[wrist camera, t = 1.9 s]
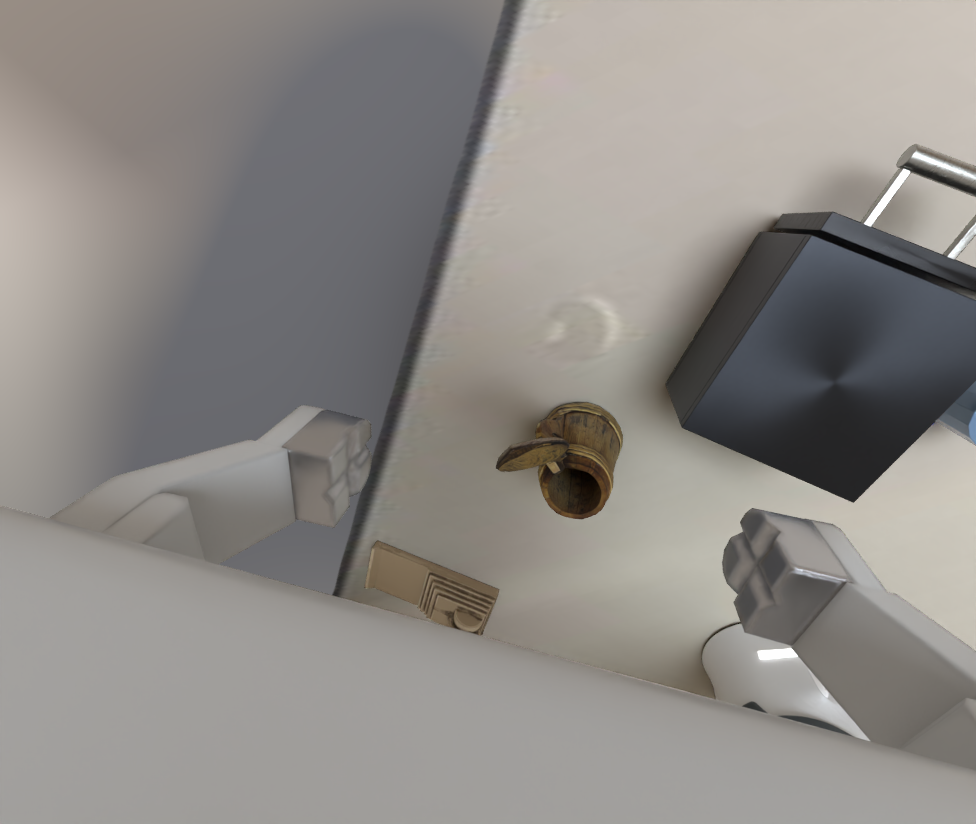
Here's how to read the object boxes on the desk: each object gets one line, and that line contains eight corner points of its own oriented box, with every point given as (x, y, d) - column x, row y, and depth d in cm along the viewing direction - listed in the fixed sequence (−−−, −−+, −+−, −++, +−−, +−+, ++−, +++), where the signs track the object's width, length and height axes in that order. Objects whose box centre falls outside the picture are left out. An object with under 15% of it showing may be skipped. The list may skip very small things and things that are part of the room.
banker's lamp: (478, 641, 67) (370, 1002, 36) (358, 591, 69) (159, 890, 38) (506, 572, 60) (401, 947, 29) (371, 518, 62) (140, 814, 31)
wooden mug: (579, 352, 45) (565, 423, 29) (635, 454, 48) (651, 570, 32) (508, 388, 49) (462, 469, 33) (565, 481, 52) (548, 597, 36)
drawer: (828, 139, 33) (898, 114, 25) (999, 205, 32) (1126, 200, 24) (686, 365, 42) (705, 398, 34) (817, 420, 41) (866, 467, 34)
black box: (759, 231, 37) (811, 234, 28) (923, 296, 36) (1034, 323, 27) (665, 383, 44) (681, 427, 35) (799, 442, 43) (853, 503, 34)
